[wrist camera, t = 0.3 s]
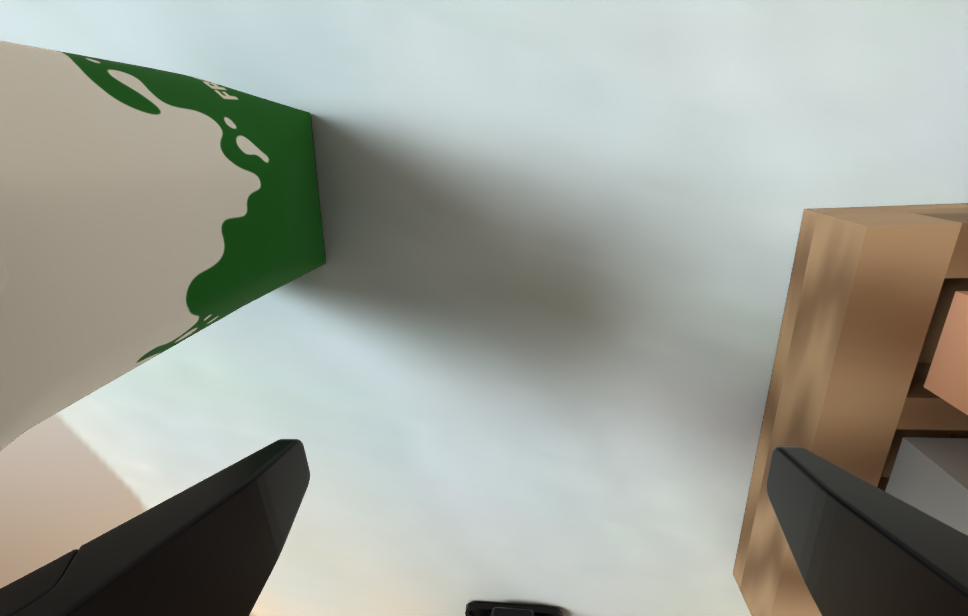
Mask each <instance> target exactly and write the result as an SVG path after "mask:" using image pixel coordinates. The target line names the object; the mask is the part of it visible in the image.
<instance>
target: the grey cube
mask: <svg viewBox="0 0 968 616" xmlns="http://www.w3.org/2000/svg"><path fill="white" fill-rule="evenodd" d="M885 492H887V493H889V494H891V495H892V496H894V497H896V498H898V499H900V500H902V501H904V502H906V503H907V504H909V505H911V506H913V507H915V508H917V509H919V510H921V511H922V512H924V513H926V514H928V515H930V516H932V517H934V518H936V519H937V520H939V521H941V522H943V523H945V524H947V525H949V526H951V527H952V528H954V529H956V530H958V531H960V532H962V533H964V534H966V535H967V536H968V438H920V437H903V439H902V442H901V445H900V448H899V451H898V454H897V457H896V460H895V463H894V466H893V469H892V472H891V475H890V478H889V481H888V484H887V487H886V490H885Z"/></svg>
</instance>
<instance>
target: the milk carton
mask: <svg viewBox="0 0 968 616" xmlns="http://www.w3.org/2000/svg"><path fill="white" fill-rule="evenodd" d="M325 263H326V260H325V251H324V241H323V231H322V222H321V212H320V202H319V193H318V183H317V173H316V163H315V154H314V144H313V134H312V125H311V115H310V113H309V112H305V111H302V110H298V109H295V108H292V107H289V106H285V105H282V104H279V103H276V102H273V101H269V100H266V99H263V98H260V97H256V96H253V95H250V94H247V93H243V92H240V91H237V90H234V89H231V88H227V87H224V86H221V85H218V84H214V83H211V82H208V81H205V80H201V79H198V78H194V77H190V76H186V75H182V74H177V73H172V72H167V71H162V70H157V69H152V68H147V67H142V66H136V65H131V64H125V63H120V62H114V61H109V60H103V59H98V58H92V57H87V56H81V55H76V54H70V53H65V52H60V51H54V50H49V49H43V48H38V47H32V46H26V45H21V44H15V43H10V42H4V41H0V451H1V450H2V449H4V448H5V447H6V446H7V445H8V444H10V443H11V442H12V441H14V440H15V439H16V438H17V437H19V436H20V435H21V434H23V433H24V432H26V431H27V430H29V429H30V428H32V427H33V426H35V425H37V424H39V423H40V422H42V421H44V420H46V419H47V418H49V417H51V416H52V415H54V414H56V413H58V412H59V411H61V410H63V409H64V408H66V407H68V406H70V405H71V404H73V403H75V402H77V401H78V400H80V399H82V398H84V397H85V396H87V395H89V394H90V393H92V392H94V391H96V390H97V389H99V388H101V387H103V386H104V385H106V384H108V383H110V382H111V381H113V380H115V379H117V378H118V377H120V376H122V375H124V374H125V373H127V372H129V371H131V370H132V369H134V368H136V367H138V366H139V365H141V364H143V363H144V362H146V361H148V360H150V359H151V358H153V357H155V356H157V355H158V354H160V353H162V352H164V351H165V350H167V349H169V348H171V347H172V346H174V345H176V344H178V343H179V342H181V341H183V340H185V339H186V338H188V337H190V336H192V335H193V334H195V333H197V332H199V331H200V330H202V329H204V328H206V327H207V326H209V325H211V324H213V323H214V322H216V321H218V320H219V319H221V318H223V317H225V316H226V315H228V314H230V313H232V312H233V311H235V310H237V309H239V308H241V307H242V306H244V305H246V304H248V303H250V302H252V301H254V300H256V299H258V298H260V297H261V296H263V295H265V294H267V293H269V292H271V291H273V290H275V289H277V288H279V287H281V286H283V285H285V284H287V283H288V282H290V281H292V280H294V279H296V278H298V277H300V276H302V275H304V274H306V273H308V272H310V271H311V270H313V269H315V268H317V267H319V266H321V265H323V264H325Z"/></svg>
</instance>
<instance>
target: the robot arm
mask: <svg viewBox="0 0 968 616" xmlns="http://www.w3.org/2000/svg"><path fill="white" fill-rule="evenodd" d="M309 480H310V471H309V466H308V462H307V458H306V454H305V450H304V446H303V443H302V442H301V441H300V440H298V439H280V440H277V441H276V442H274V443H272V444H270V445H268V446H266V447H264V448H263V449H261V450H259V451H257V452H255V453H253V454H251V455H250V456H248V457H246V458H244V459H242V460H240V461H238V462H237V463H235V464H233V465H231V466H229V467H227V468H225V469H224V470H222V471H220V472H218V473H216V474H214V475H212V476H211V477H209V478H207V479H205V480H203V481H201V482H199V483H197V484H196V485H194V486H192V487H190V488H188V489H186V490H184V491H183V492H181V493H179V494H177V495H175V496H173V497H171V498H170V499H168V500H166V501H164V502H162V503H160V504H158V505H157V506H155V507H153V508H151V509H149V510H147V511H145V512H144V513H142V514H140V515H138V516H136V517H134V518H132V519H131V520H129V521H127V522H125V523H123V524H121V525H119V526H118V527H116V528H114V529H112V530H110V531H108V532H107V533H105V534H103V535H101V536H99V537H97V538H96V539H94V540H92V541H90V542H88V543H86V544H84V545H82V546H81V547H80V549H79V550H78V549H76V550H73V551H71V552H69V553H67V554H66V555H63V556H62V557H60V558H58V559H56V560H54V561H52V562H51V563H49V564H47V565H45V566H43V567H41V568H39V569H37V570H35V571H34V572H32V573H30V574H28V575H26V576H24V577H22V578H20V579H18V580H16V581H14V582H12V583H10V584H9V585H7V586H5V587H3V588H1V589H0V616H249V614H250V612H251V610H252V609H253V607H254V605H255V603H256V601H257V599H258V597H259V595H260V593H261V591H262V589H263V587H264V585H265V583H266V581H267V580H268V578H269V576H270V574H271V572H272V570H273V568H274V566H275V564H276V562H277V560H278V558H279V556H280V553H281V551H282V549H283V546H284V544H285V542H286V539H287V537H288V534H289V532H290V529H291V527H292V524H293V522H294V519H295V517H296V514H297V512H298V509H299V507H300V504H301V502H302V499H303V497H304V494H305V492H306V489H307V487H308V484H309ZM766 489H767V494H768V498H769V500H770V502H771V505H772V507H773V510H774V512H775V514H776V517H777V519H778V522H779V524H780V526H781V529H782V531H783V533H784V536H785V538H786V541H787V543H788V545H789V548H790V550H791V553H792V555H793V557H794V560H795V562H796V564H797V567H798V569H799V571H800V574H801V576H802V578H803V580H804V582H805V584H806V586H807V588H808V590H809V592H810V594H811V596H812V598H813V600H814V602H815V603H816V605H817V607H818V609H819V611H820V613H821V615H822V616H968V536H967V535H966V534H964V533H962V532H960V531H958V530H956V529H954V528H952V527H951V526H949V525H947V524H945V523H943V522H941V521H939V520H937V519H936V518H934V517H932V516H930V515H928V514H926V513H924V512H922V511H921V510H919V509H917V508H915V507H913V506H911V505H909V504H907V503H906V502H904V501H902V500H900V499H898V498H896V497H894V496H892V495H891V494H889V493H887V492H885V491H883V490H881V489H879V488H877V487H876V486H874V485H872V484H870V483H868V482H866V481H864V480H862V479H861V478H859V477H857V476H855V475H853V474H851V473H849V472H847V471H846V470H844V469H842V468H840V467H838V466H836V465H834V464H832V463H831V462H829V461H827V460H825V459H823V458H821V457H819V456H817V455H816V454H814V453H812V452H810V451H808V450H806V449H804V448H802V447H795V446H778V447H776V448H774V450H773V452H772V455H771V460H770V465H769V471H768V476H767V482H766ZM465 614H466V616H562V611H561V610H560V609H558V608H549V607H534V606H520V605H505V604H490V603H476V602H470V603H468V604H467V605H466V612H465Z"/></svg>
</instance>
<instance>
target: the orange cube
mask: <svg viewBox="0 0 968 616" xmlns="http://www.w3.org/2000/svg"><path fill="white" fill-rule="evenodd" d="M924 388H926V389H927V390H929V391H931V392H932V393H934V394H935V395H937V396H938V397H940V398H941V399H943V400H945V401H946V402H948V403H949V404H951V405H952V406H954V407H956V408H957V409H959V410H960V411H962V412H963V413H965V414H966V415H968V291H956V292H955V295H954V298H953V300H952V303H951V306H950V309H949V312H948V315H947V318H946V321H945V324H944V327H943V330H942V333H941V336H940V339H939V342H938V345H937V348H936V351H935V354H934V357H933V360H932V363H931V366H930V369H929V372H928V375H927V378H926V381H925V384H924Z"/></svg>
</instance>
